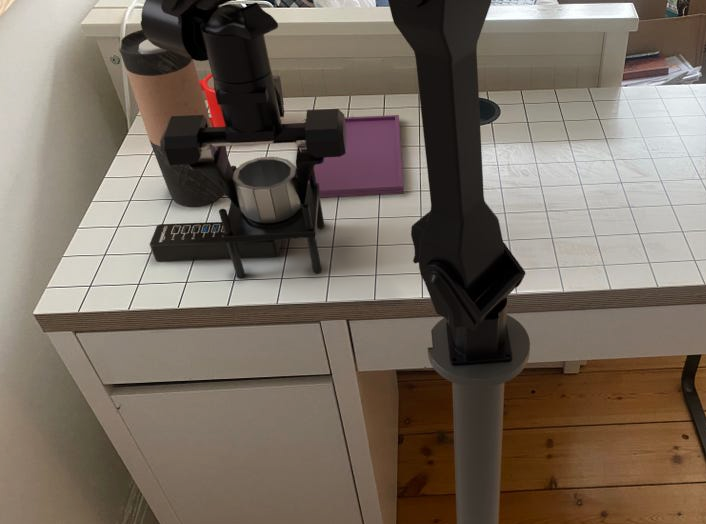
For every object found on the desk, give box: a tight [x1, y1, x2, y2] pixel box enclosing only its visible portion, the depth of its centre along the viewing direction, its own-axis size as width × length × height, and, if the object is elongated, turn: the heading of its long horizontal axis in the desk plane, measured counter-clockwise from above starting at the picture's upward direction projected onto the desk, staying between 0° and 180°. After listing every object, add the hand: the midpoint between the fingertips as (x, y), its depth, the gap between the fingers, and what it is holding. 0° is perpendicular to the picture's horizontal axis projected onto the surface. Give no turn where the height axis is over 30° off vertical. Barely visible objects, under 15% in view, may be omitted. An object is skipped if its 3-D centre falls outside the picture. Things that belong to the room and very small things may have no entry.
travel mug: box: [118, 29, 225, 207], centre depth 92 cm, size 8×8×20 cm
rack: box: [218, 165, 325, 279], centre depth 87 cm, size 10×10×9 cm
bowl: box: [233, 156, 302, 223], centre depth 85 cm, size 7×7×5 cm
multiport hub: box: [149, 221, 282, 262], centre depth 90 cm, size 4×14×2 cm, turn 94°
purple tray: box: [303, 114, 404, 199], centre depth 105 cm, size 20×14×1 cm
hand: (271, 203), depth 86 cm, fingers closed on bowl, 7 cm apart
